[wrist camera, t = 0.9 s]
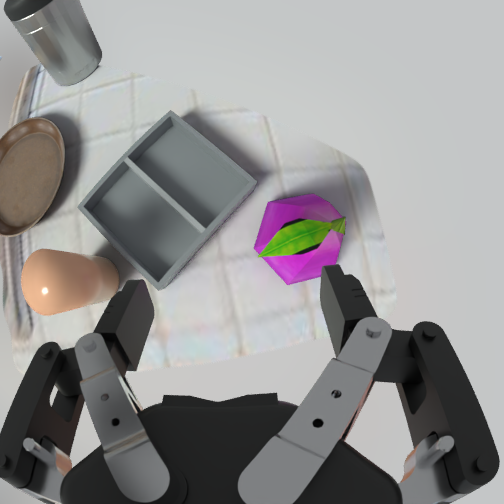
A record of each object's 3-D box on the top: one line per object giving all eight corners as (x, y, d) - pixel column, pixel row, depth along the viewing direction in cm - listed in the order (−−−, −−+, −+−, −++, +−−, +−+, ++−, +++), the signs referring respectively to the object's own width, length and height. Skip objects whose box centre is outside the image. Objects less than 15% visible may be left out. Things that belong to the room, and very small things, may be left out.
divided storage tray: (88, 212, 33) (77, 207, 29) (174, 123, 35) (170, 110, 31) (164, 288, 33) (158, 290, 30) (253, 190, 35) (257, 181, 32)
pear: (281, 179, 36) (320, 124, 21) (352, 226, 37) (423, 201, 22) (234, 255, 35) (246, 243, 20) (310, 302, 35) (370, 320, 21)
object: (42, 258, 32) (30, 257, 29) (-23, 215, 30) (-34, 212, 27) (94, 139, 34) (86, 130, 31) (21, 117, 32) (13, 109, 29)
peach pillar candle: (73, 280, 32) (12, 282, 19) (98, 247, 33) (43, 235, 20) (101, 311, 32) (48, 329, 19) (128, 278, 33) (81, 281, 20)
